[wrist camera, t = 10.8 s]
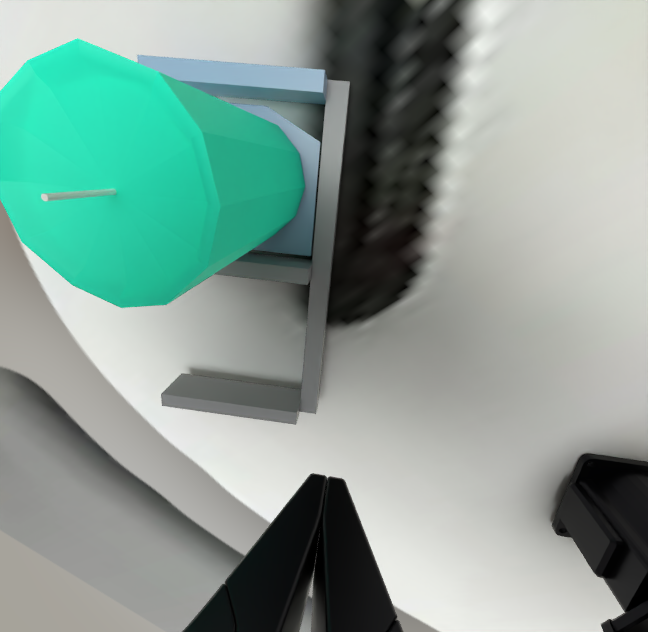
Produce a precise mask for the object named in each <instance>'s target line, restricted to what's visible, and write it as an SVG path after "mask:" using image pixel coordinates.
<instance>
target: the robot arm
mask: <svg viewBox="0 0 648 632" xmlns="http://www.w3.org/2000/svg"><path fill="white" fill-rule="evenodd" d="M590 462H591V463H590ZM588 463H589V464H588ZM326 484H327V485H326ZM325 491H326V492H325ZM552 527H553V529H554V531H555V533H556V534H557V535H559V536H564V537H571V538H573V540H574V542H575V543H576V545H577V546H578V548H579V550H580V551H581V553H582V554H583V556H584V558H585V559H586V561H587V562H588V564H589V566H590V567H591V569H592V570H593V572H594V573H595V574H596V575H597V577H601V578H603V579H604V580H605V582H606V583H607V585H608V586H609V588H610V590H611V591H612V593H613V594H614V596H615V597H616V599H617V601H618V602H619V604H620V605H621V607H622V608H623V610H624V612H625V613H623V614H622V615H620V616H618V617H617V618H615V619H613V620H611V619H609V620H607V621H605V622H604V623H602V624H601V626H602V629H603V632H648V462H644V461H637V460H630V459H622V458H615V457H608V456H601V455H594V454H586V455H583V456H582V457H581V458H580V459H579V462H578V464H577V467H576V469H575V471H574V474H573V476H572V478H571V481H570V483H569V486H568V488H567V490H566V493H565V495H564V497H563V500H562V502H561V505H560V507H559V509H558V512H557V514H556V516H555V519H554V521H553V524H552ZM317 547H318V548H317ZM316 553H317V555H316ZM315 560H316V562H315ZM314 567H315V569H314ZM313 573H314V579H313V596H312V623H311V632H403V630H402V627H401V624H400V622H399V621H398V620H397V614H396V612H395V609H394V607H393V604H392V601H391V599H390V596H389V594H388V591H387V589H386V586H385V583H384V581H383V578H382V576H381V573H380V570H379V568H378V565H377V563H376V560H375V557H374V555H373V552H372V550H371V547H370V544H369V542H368V539H367V537H366V534H365V532H364V529H363V526H362V524H361V521H360V519H359V516H358V513H357V511H356V508H355V506H354V503H353V500H352V498H351V495H350V493H349V490H348V488H347V485H346V482H345V480H344V479H342V478H336V477H328V479H327V477H326V476H325V475H319V474H314V473H313V474H310V475H309V477H308V478H307V479H306V480H305V482H304V483H303V484H302V485H301V487H300V488H299V489H298V490H297V492H296V493H295V494H294V495H293V497H292V498H291V499H290V500H289V502H288V503H287V504H286V505H285V507H284V508H283V509H282V510H281V512H280V513H279V514H278V515H277V517H276V518H275V519H274V520H273V522H272V523H271V524H270V525H269V527H268V528H267V529H266V531H265V532H264V533H263V534H262V535H261V537H260V538H259V539H258V540H257V542H256V543H255V544H254V546H253V547H252V548H251V549H250V550H249V552H248V553H247V554H246V555H245V557H244V558H243V559H242V560H241V562H240V563H239V564H238V565H237V567H236V568H235V569H234V570H233V572H232V573H231V574H230V575H229V577H228V578H227V579H226V581H225V584H222V585H221V586H220V588H219V589H218V590H217V591H216V593H215V594H214V595H213V596H212V598H211V599H210V600H209V601H208V603H207V604H206V605H205V606H204V607H203V608H202V610H201V611H200V612H199V613H198V614H197V616H196V617H195V618H194V619H193V620H192V621H191V623H190V624H189V625H188V626H187V627H186V628H185V629H184V630H183V631H182V632H299V630H300V626H301V622H302V619H303V615H304V611H305V607H306V603H307V599H308V595H309V591H310V587H311V583H312V578H313Z"/></svg>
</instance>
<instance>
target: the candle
mask: <svg viewBox="0 0 648 632" xmlns="http://www.w3.org/2000/svg"><path fill="white" fill-rule="evenodd" d="M304 189H305V182H304V176H303V170H302V165H301V159H300V154H299V152H298V151H297V149H296V148H295V147H294V145H293V144H292V143H291V141H290V140H289V139H288V138H287V136H286V135H285V134H284V132H283V131H282V130H281V129H280V127H279V126H278V125H276V124H274V123H271V122H269V121H267V120H265V119H262V118H260V117H258V116H256V115H254V114H251V113H249V112H247V111H245V110H243V109H240V108H238V107H236V106H234V105H232V104H229V103H227V102H225V101H223V100H220V99H218V98H216V97H214V96H212V95H209V94H207V93H205V92H203V91H201V90H198V89H196V88H194V87H192V86H189V85H187V84H185V83H183V82H181V81H178V80H176V79H174V78H172V77H170V76H167V75H165V74H163V73H161V72H159V71H156V70H154V69H151V68H149V67H146V66H144V65H141V64H139V63H137V62H134V61H132V60H129V59H127V58H124V57H122V56H120V55H117V54H115V53H112V52H110V51H107V50H105V49H102V48H100V47H98V46H95V45H93V44H90V43H88V42H85V41H83V40H80V39H78V38H77V39H75V40H73V41H71V42H68V43H66V44H64V45H61V46H59V47H57V48H55V49H52V50H50V51H48V52H46V53H43V54H41V55H39V56H37V57H34V58H32V59H30V60H27V62H26V63H25V64H24V65H23V66H22V67H21V68H20V70H19V71H18V72H17V73H16V74H15V75H14V76H13V77H12V79H11V80H10V81H9V82H8V83H7V84H6V85H5V86H4V88H3V89H2V90H1V91H0V200H1V202H2V204H3V206H4V208H5V210H6V212H7V214H8V216H9V218H10V220H11V221H12V223H13V225H14V227H15V229H16V231H17V233H18V235H19V237H20V239H21V241H22V242H23V243H24V244H25V245H26V246H27V247H28V248H30V249H31V250H32V251H33V252H34V253H35V254H37V255H38V256H39V257H40V258H41V259H42V260H44V261H45V262H46V263H47V264H48V265H49V266H51V267H52V268H53V269H54V270H55V271H56V272H58V273H59V274H60V275H61V276H62V277H63V278H65V279H66V280H67V281H68V282H69V283H70V284H72V285H73V286H75V287H77V288H80V289H82V290H84V291H86V292H88V293H90V294H93V295H95V296H97V297H99V298H101V299H103V300H105V301H108V302H110V303H112V304H114V305H116V306H118V307H121V308H124V307H140V306H155V305H167V304H168V303H170V302H171V301H173V300H174V299H176V298H177V297H179V296H181V295H182V294H184V293H185V292H187V291H188V290H190V289H191V288H193V287H195V286H196V285H198V284H199V283H201V282H202V281H204V280H205V279H207V278H209V277H210V276H212V275H213V274H215V273H216V272H218V271H219V270H221V269H222V268H224V267H226V266H227V265H229V264H230V263H232V262H233V261H235V260H236V259H238V258H240V257H241V256H243V255H244V254H246V253H247V252H249V251H250V250H252V249H254V248H255V247H257V246H258V245H260V244H261V243H263V242H264V241H266V240H267V239H269V238H271V237H272V236H274V235H275V234H276V233H277V232H278V231H280V230H281V229H282V228H283V227H284V226H285V225H286V224H288V223H289V222H290V221H291V220H292V219H293V218H294V217H295V216H296V214H297V211H298V208H299V205H300V202H301V199H302V195H303V192H304Z"/></svg>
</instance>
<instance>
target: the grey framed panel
mask: <svg viewBox="0 0 648 632" xmlns="http://www.w3.org/2000/svg"><path fill="white" fill-rule="evenodd" d="M137 57H138V63H139V64H141V65H144V66H146V67H149V68H151V69H154V70H156V71H159V72H161V73H163V74H165V75H167V76H170V77H172V78H174V79H176V80H178V81H181V82H183V83H185V84H187V85H189V86H192V87H194V88H196V89H198V90H201V91H203V92H205V93H207V94H209V95H212V96H221V97H234V98H247V99H260V100H273V101H286V102H299V103H312V104H325V115H324V127H323V139H322V151H321V163H320V175H319V187H318V199H317V211H316V223H315V234H314V246H313V258H312V260H308V259H299V258H290V257H281V256H273V255H264V254H255V253H246V254H244V255H243V256H241V257H240V258H238V259H236V260H235V261H233V262H232V263H230V264H229V265H227V266H226V267H224V268H222V269H221V270H219V271H218V272H216V273H215V274H218V275H226V276H235V277H243V278H252V279H261V280H269V281H278V282H286V283H295V284H303V285H308V283H309V281H310V280H311V282H310V294H309V306H308V318H307V330H306V342H305V354H304V365H303V377H302V389H294V388H287V387H279V386H272V385H264V384H257V383H249V382H242V381H235V380H227V379H220V378H212V377H205V376H197V375H190V374H183V373H182V374H181V375H180V376H179V377H178V378H177V379H176V380H175V381H174V382H173V383H172V384H171V385H170V386H169V387H168V388H167V389H166V390H165V391H164V392H163V393H162V394H161V398H162V406H168V407H175V408H182V409H189V410H196V411H203V412H210V413H217V414H224V415H232V416H239V417H246V418H253V419H260V420H267V421H274V422H281V423H288V424H296V423H297V419H298V416H299V412H307V413H315V414H316V410H317V405H318V398H319V389H320V379H321V369H322V360H323V350H324V340H325V331H326V321H327V311H328V302H329V292H330V282H331V273H332V263H333V254H334V244H335V234H336V224H337V214H338V204H339V194H340V184H341V174H342V164H343V154H344V144H345V134H346V124H347V114H348V104H349V94H350V82H347V81H335V80H327V76H326V73H325V70H319V69H307V68H294V67H282V66H269V65H257V64H244V63H232V62H219V61H206V60H194V59H181V58H169V57H156V56H144V55H137ZM229 104H232V105H234V106H236V107H238V108H240V109H243V110H245V111H247V112H249V113H251V114H254V115H256V116H258V117H260V118H262V119H265V120H267V121H269V122H271V123H274V124H276V125H278V126H279V127H280V129H281V130H282V131H283V132H284V134H285V135H286V136H287V138H288V139H289V140H290V141H291V143H292V144H293V145H294V147H295V148H296V149H297V151H298V152H299V154H300V159H301V165H302V170H303V176H304V182H305V189H304V192H303V195H302V199H301V202H300V205H299V208H298V211H297V214H296V216H295V217H294V218H293V219H292V220H291V221H290V222H289V223H288V224H286V225H285V226H284V227H283V228H282V229H281V230H280V231H278V232H277V233H276V234H275V235H274V236H272V237H271V238H269V239H267V240H266V241H264V242H263V243H261V244H260V245H258V246H257V247H255V248H254V249H252V250H259V251H268V252H277V253H286V254H295V255H304V256H311V255H312V244H313V232H314V219H315V205H316V192H317V179H318V165H319V152H320V142H319V141H318V140H316V139H315V138H313V137H312V136H310V135H309V134H307V133H306V132H304V131H303V130H301V129H300V128H298V127H297V126H295V125H294V124H293V123H291V122H290V121H288V120H287V119H285V118H284V117H282V116H281V115H279V114H278V113H276V112H275V111H273V110H272V109H270V108H269V107H267V106H261V105H249V104H238V103H229Z"/></svg>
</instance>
